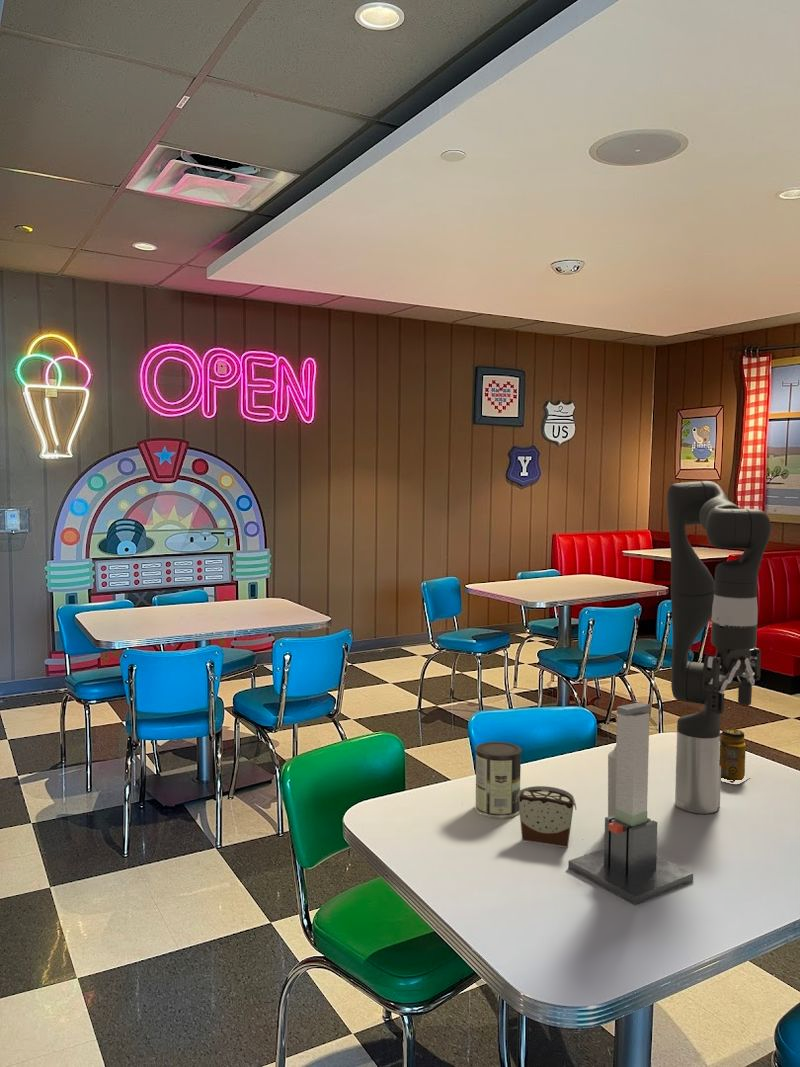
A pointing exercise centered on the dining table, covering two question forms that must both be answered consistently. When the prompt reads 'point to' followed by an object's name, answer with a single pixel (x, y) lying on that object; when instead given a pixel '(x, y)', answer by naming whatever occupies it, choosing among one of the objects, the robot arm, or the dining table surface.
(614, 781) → the bottle
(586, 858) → the stand
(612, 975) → the dining table surface
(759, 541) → the robot arm
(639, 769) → the post
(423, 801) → the dining table surface
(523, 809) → the food container
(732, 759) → the condiment
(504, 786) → the coffee can
